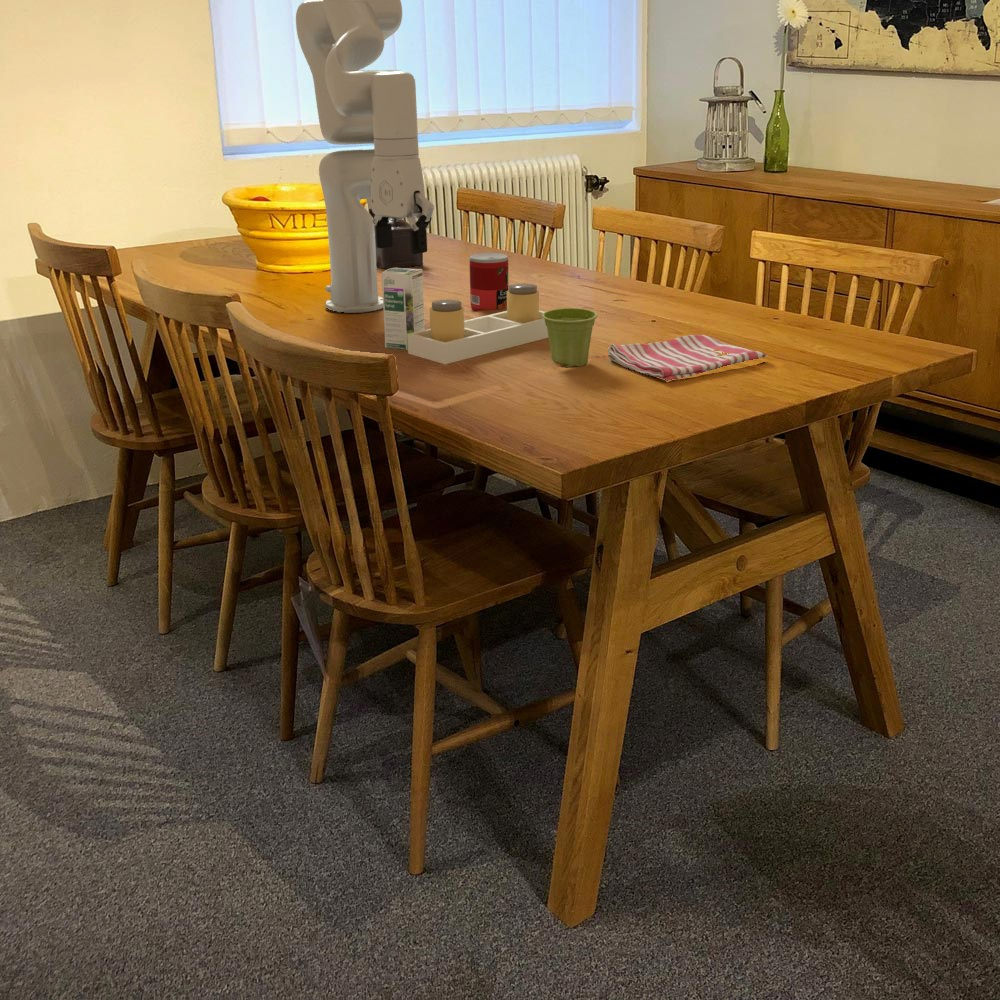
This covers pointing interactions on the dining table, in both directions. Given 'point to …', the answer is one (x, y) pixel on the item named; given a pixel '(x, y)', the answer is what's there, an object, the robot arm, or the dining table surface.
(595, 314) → the plant pot
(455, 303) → the honey jar
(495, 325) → the caddy
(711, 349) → the dish towel
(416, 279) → the syrup box
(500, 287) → the canned food
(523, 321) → the honey jar
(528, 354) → the dining table surface
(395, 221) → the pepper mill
